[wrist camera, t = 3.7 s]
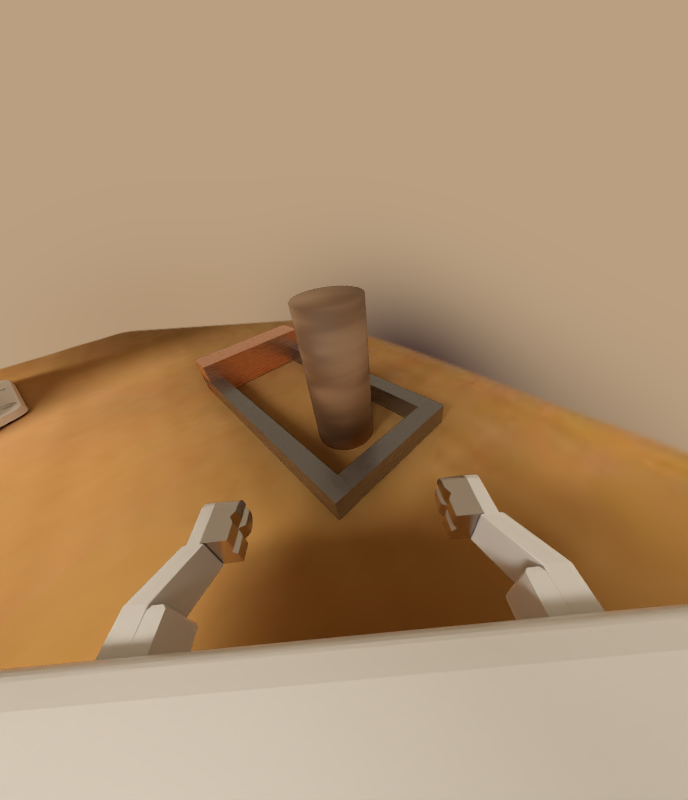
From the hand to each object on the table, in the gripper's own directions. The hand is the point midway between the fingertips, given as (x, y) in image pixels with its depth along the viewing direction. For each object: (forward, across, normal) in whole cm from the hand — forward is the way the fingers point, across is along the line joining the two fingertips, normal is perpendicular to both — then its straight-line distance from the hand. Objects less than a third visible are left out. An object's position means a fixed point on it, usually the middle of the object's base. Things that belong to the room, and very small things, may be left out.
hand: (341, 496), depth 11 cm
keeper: (+11, 0, +7) cm, 13 cm away
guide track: (+16, +4, +7) cm, 18 cm away
